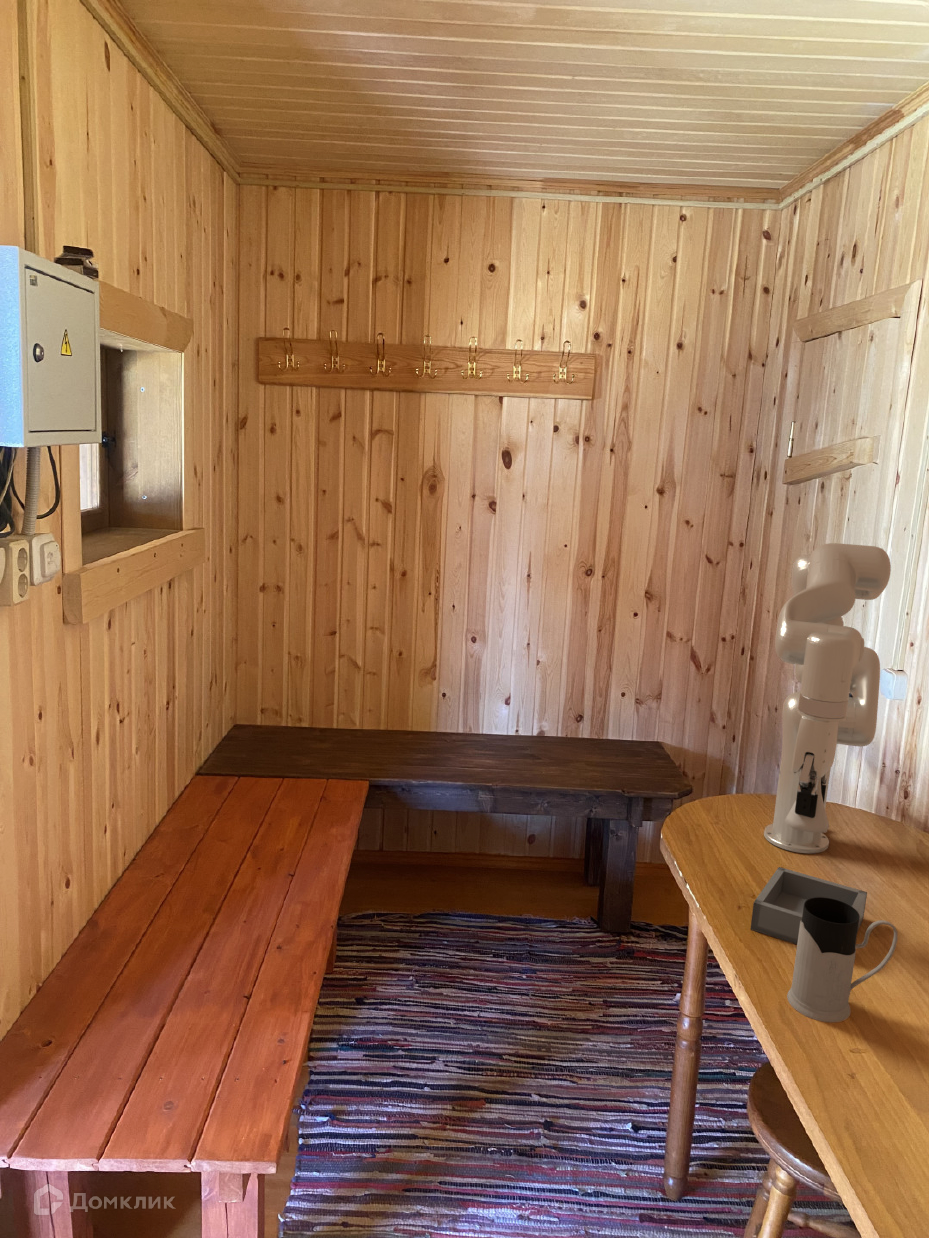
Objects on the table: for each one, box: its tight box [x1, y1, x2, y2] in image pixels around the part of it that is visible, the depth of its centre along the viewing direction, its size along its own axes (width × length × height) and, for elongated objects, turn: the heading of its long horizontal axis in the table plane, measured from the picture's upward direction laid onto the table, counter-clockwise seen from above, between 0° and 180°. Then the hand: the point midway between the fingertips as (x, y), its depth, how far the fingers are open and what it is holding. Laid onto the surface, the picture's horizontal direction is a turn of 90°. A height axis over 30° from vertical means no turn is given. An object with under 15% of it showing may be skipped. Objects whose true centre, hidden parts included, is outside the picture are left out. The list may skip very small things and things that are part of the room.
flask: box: [785, 772, 830, 834], centre depth 155 cm, size 7×7×10 cm
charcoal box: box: [749, 866, 868, 946], centre depth 156 cm, size 16×15×5 cm
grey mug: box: [786, 897, 899, 1023], centre depth 133 cm, size 9×14×15 cm, turn 88°
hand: (809, 809), depth 155 cm, fingers closed on flask, 4 cm apart
